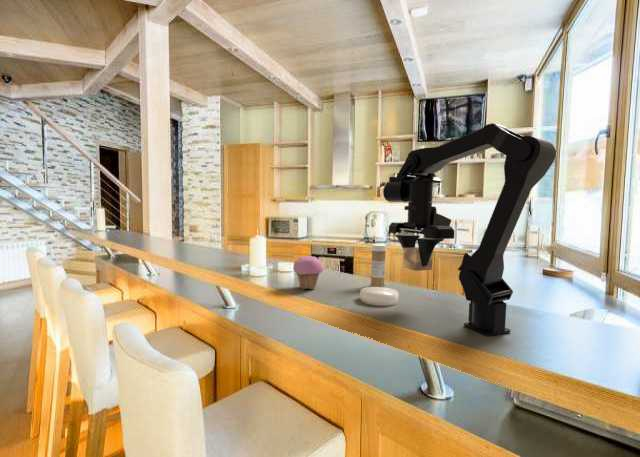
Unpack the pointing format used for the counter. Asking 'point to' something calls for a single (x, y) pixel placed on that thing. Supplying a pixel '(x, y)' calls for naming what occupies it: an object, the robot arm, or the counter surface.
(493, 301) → the robot arm
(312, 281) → the cupcake
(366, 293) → the ceramic stand
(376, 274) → the sprinkles bottle
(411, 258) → the beech cube
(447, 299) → the counter surface
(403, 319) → the counter surface
